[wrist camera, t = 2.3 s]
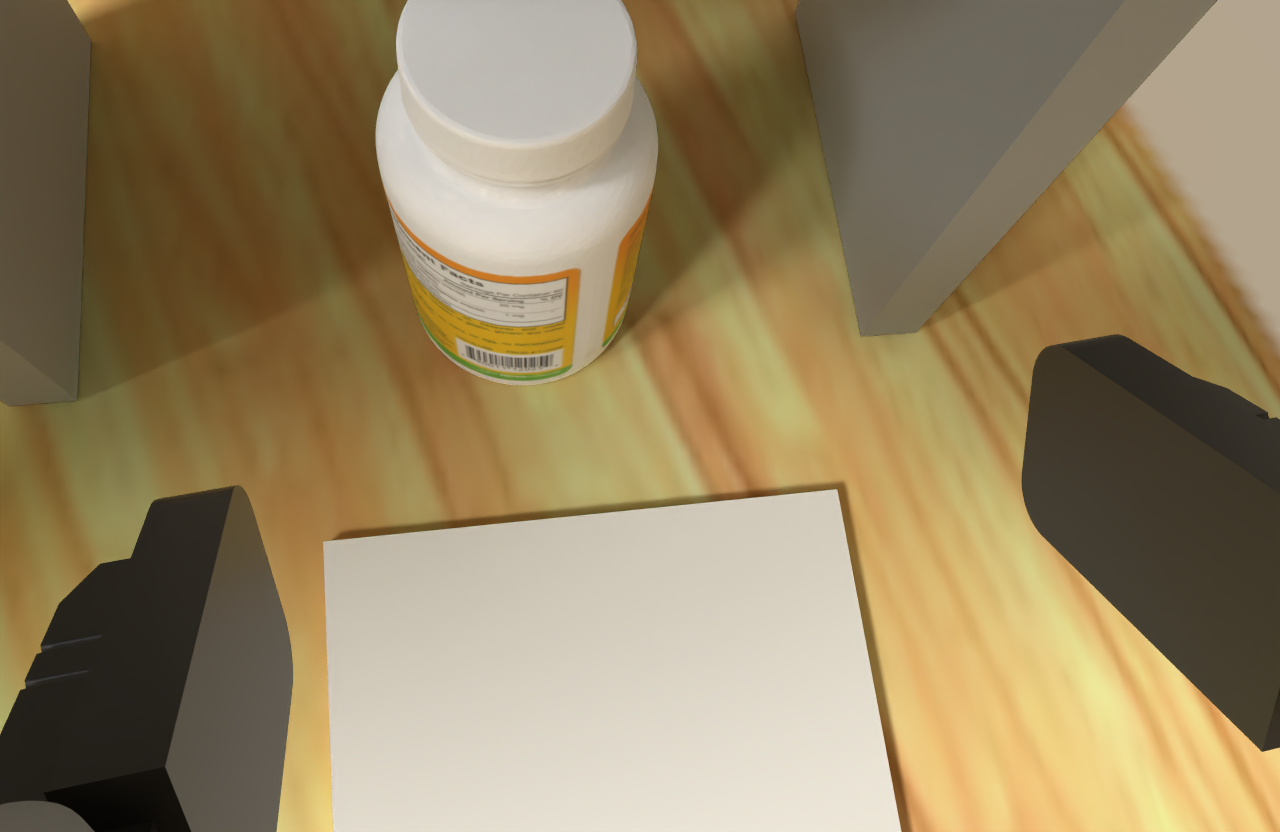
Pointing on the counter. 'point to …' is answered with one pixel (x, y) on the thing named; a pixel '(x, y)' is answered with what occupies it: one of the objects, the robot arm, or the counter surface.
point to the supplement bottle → (518, 178)
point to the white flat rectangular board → (606, 675)
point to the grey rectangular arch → (844, 106)
